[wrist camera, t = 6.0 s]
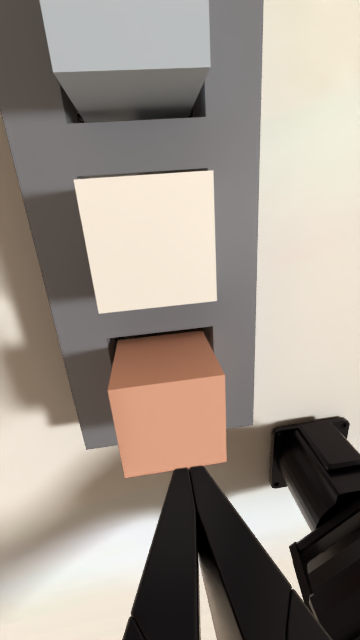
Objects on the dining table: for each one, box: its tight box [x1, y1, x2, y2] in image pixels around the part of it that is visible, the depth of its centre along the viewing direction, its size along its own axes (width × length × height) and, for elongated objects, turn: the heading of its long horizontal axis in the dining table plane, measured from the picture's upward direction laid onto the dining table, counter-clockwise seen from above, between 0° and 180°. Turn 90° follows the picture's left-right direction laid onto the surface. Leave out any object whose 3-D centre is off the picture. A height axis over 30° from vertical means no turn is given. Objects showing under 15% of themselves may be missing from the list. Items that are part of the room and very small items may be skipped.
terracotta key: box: [108, 331, 227, 478], centre depth 15 cm, size 5×5×5 cm
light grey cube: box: [40, 0, 211, 122], centre depth 10 cm, size 5×5×5 cm
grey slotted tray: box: [0, 0, 263, 450], centre depth 15 cm, size 25×11×3 cm, turn 4°
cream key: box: [74, 170, 217, 314], centre depth 13 cm, size 5×5×5 cm
